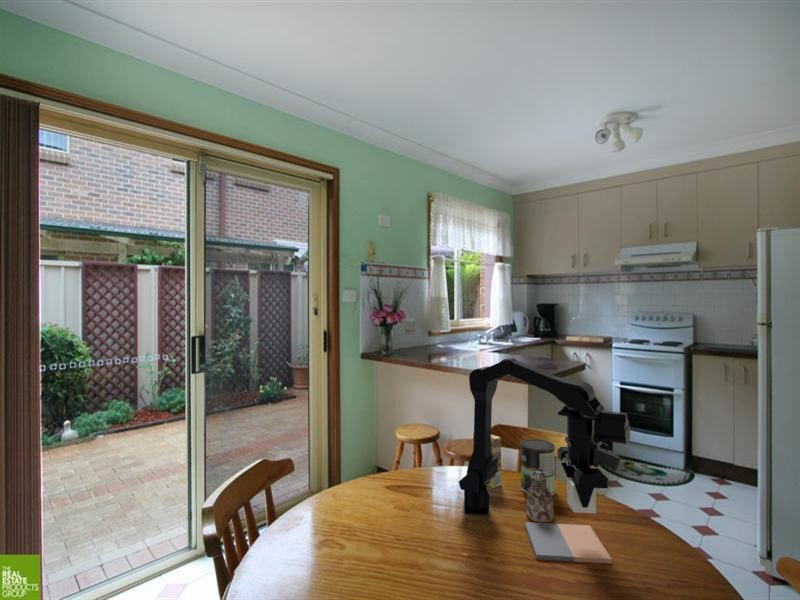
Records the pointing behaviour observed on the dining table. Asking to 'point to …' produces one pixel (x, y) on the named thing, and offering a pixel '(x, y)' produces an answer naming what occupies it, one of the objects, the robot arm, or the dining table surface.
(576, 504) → the cream block
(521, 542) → the dining table surface
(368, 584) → the dining table surface
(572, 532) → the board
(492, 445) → the candy box
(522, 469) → the coffee can
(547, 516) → the figurine
